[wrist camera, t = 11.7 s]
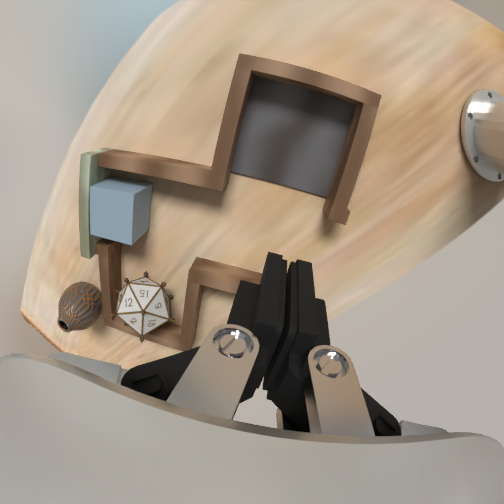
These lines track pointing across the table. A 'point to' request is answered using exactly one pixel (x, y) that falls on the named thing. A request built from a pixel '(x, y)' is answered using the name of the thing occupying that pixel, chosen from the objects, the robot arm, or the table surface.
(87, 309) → the vase
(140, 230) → the slate block
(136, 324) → the game die
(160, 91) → the table surface
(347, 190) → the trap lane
